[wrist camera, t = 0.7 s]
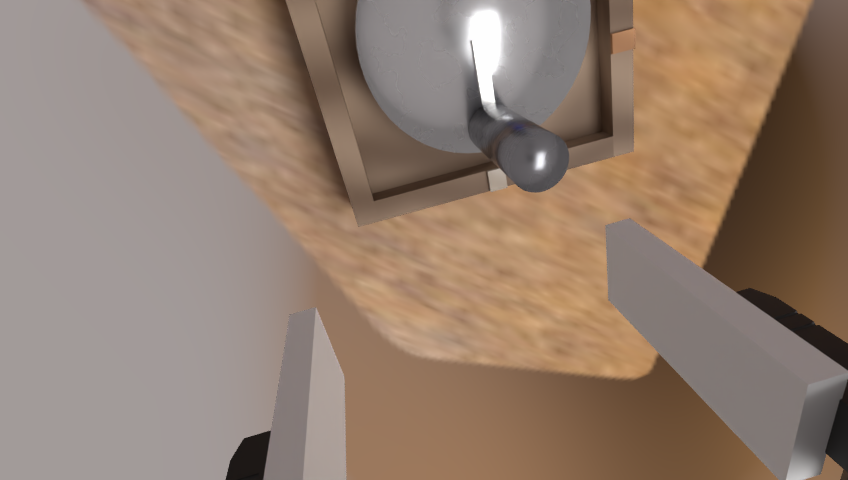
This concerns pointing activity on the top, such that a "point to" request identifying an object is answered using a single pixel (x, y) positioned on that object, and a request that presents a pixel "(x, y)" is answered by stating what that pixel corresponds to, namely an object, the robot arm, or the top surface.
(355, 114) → the dial panel
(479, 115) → the dial
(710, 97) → the top surface
